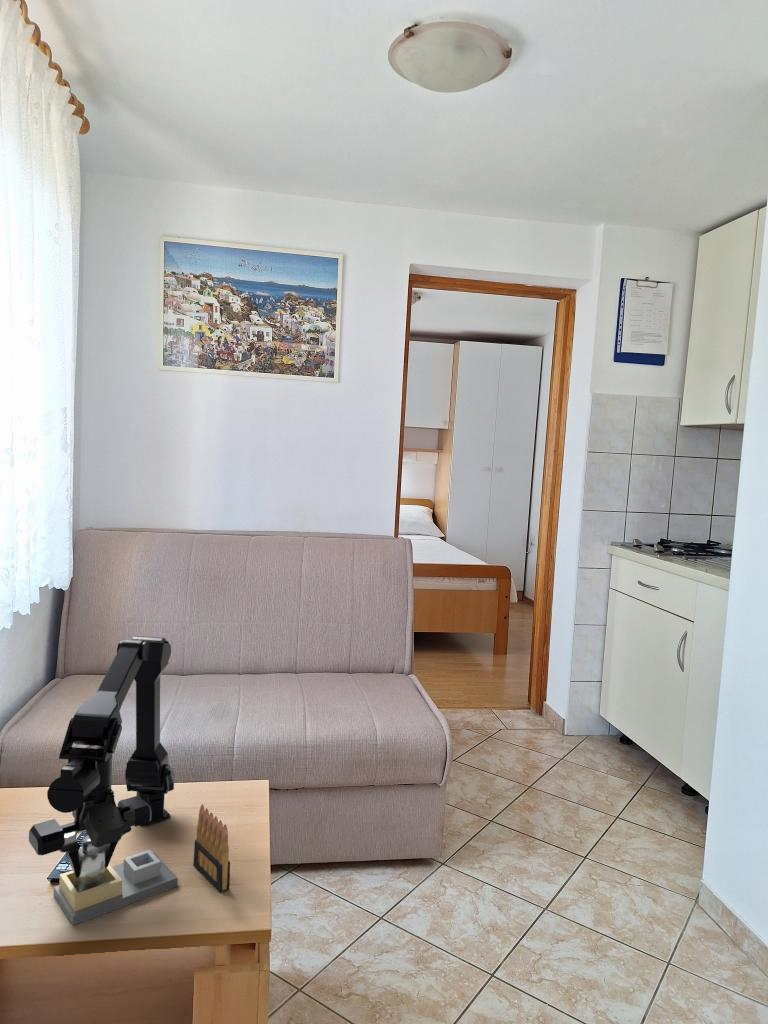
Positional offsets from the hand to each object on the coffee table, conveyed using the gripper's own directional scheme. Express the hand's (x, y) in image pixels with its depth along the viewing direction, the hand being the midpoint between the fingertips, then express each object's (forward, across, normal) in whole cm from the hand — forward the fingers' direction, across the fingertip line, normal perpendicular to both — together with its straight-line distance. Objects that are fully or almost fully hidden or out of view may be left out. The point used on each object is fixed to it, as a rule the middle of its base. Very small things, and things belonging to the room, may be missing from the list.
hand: (91, 871), depth 120 cm
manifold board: (+5, +4, 0) cm, 7 cm away
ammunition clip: (+5, +19, -6) cm, 21 cm away
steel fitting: (+2, 0, 0) cm, 2 cm away
